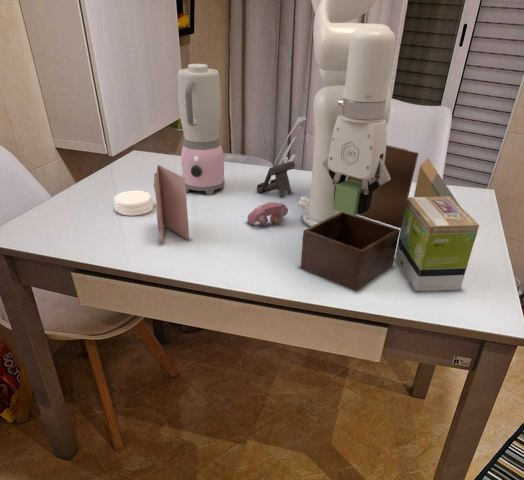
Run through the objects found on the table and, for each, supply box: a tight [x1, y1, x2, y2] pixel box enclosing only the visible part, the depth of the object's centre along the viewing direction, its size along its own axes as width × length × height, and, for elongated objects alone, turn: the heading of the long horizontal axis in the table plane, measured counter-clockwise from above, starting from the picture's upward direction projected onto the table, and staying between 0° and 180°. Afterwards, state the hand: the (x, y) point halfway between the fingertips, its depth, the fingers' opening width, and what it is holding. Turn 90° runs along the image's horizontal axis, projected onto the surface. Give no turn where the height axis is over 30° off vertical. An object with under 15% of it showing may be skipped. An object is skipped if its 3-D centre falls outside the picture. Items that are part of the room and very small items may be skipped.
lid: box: [347, 144, 420, 229], centre depth 106 cm, size 15×15×5 cm
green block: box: [334, 179, 363, 216], centre depth 99 cm, size 5×5×5 cm
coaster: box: [113, 189, 154, 217], centre depth 133 cm, size 10×10×4 cm
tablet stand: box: [256, 160, 296, 198], centre depth 144 cm, size 9×8×8 cm
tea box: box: [394, 196, 480, 292], centre depth 103 cm, size 15×10×15 cm, turn 5°
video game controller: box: [246, 201, 289, 226], centre depth 126 cm, size 10×5×7 cm, turn 118°
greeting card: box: [153, 164, 190, 245], centre depth 117 cm, size 11×7×15 cm, turn 5°
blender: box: [176, 63, 226, 196], centre depth 137 cm, size 16×12×32 cm
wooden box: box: [300, 212, 401, 292], centre depth 107 cm, size 15×15×9 cm
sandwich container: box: [413, 157, 461, 207], centre depth 125 cm, size 9×15×15 cm, turn 64°
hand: (350, 207), depth 100 cm, fingers closed on green block, 5 cm apart
